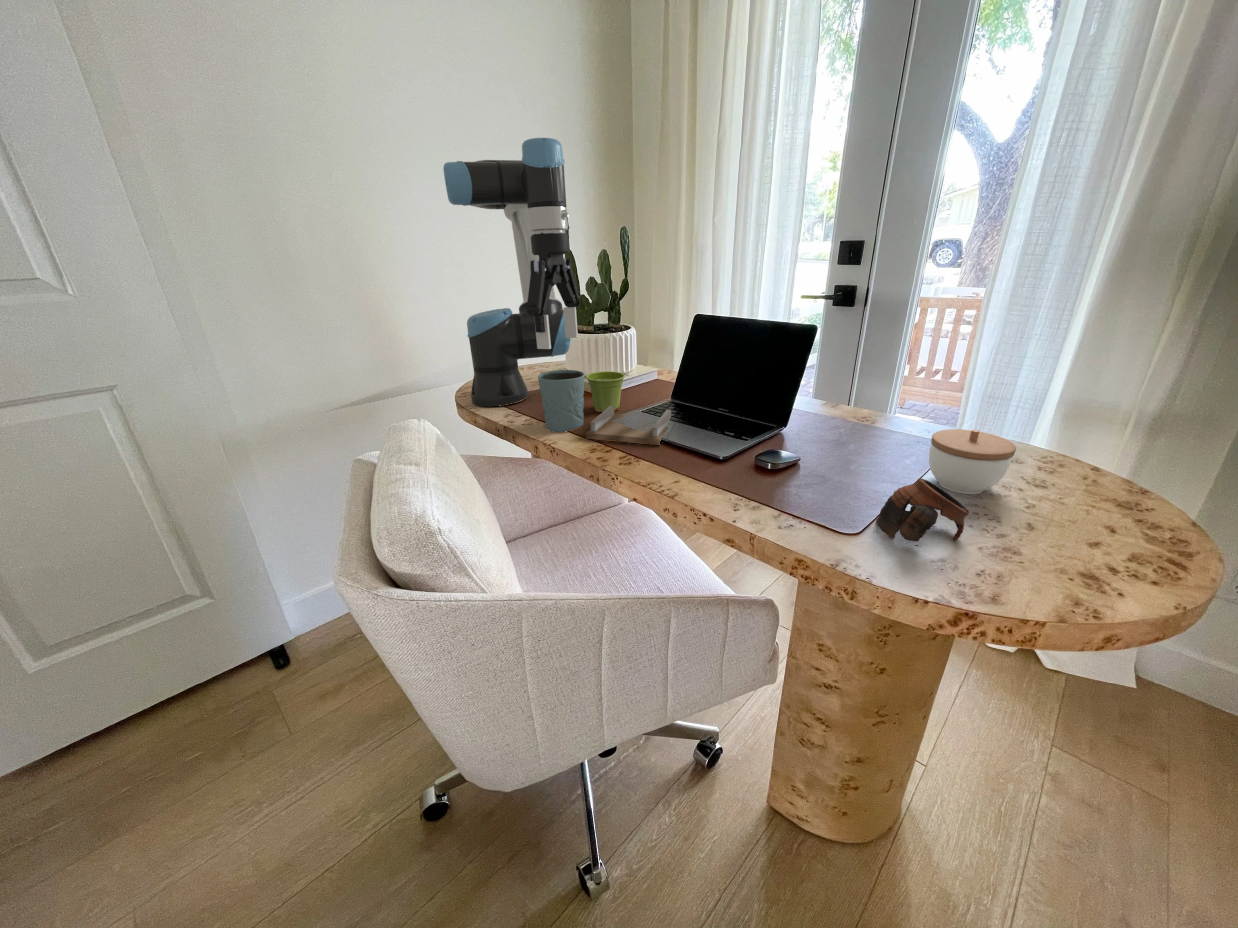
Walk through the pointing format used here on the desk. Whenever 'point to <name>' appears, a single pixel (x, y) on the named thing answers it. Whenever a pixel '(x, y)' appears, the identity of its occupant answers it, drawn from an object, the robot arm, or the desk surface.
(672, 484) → the desk surface
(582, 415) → the blue ceramic cup
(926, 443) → the desk surface
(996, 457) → the lidded jar
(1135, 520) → the desk surface
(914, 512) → the pottery mug
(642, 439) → the board
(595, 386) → the plant pot
